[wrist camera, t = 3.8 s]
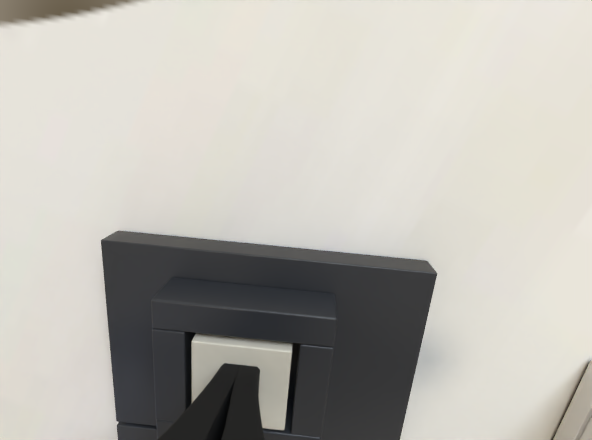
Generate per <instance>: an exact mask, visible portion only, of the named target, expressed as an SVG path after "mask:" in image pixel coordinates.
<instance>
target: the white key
mask: <svg viewBox="0 0 592 440" xmlns="http://www.w3.org/2000/svg"><path fill="white" fill-rule="evenodd" d="M292 348H293V343H288V342H278V341H269V340H259V339H250V338H240V337H230V336H221V335H211V334H202V333H196V334H195V336H194V338H193V340H192V341H191V357H192V402H193V401H194V400H195V399H196V398H197V397H198V395H199V394H200V393H201V392H202V391H203V389H204V388H205V387H206V386H207V384H208V383H209V382H210V381H211V379H212V378H213V377H214V375H215V374H216V373H217V371H218V370H219V368H220V367H221V365H223V364H224V363H228V364H237V365H247V366H256V367H258V368H259V369H260V379H259V395H258V396H259V407H260V415H261V422H262V428H266V429H275V430H284V429H285V420H286V410H287V400H288V389H289V379H290V369H291V358H292Z"/></svg>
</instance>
